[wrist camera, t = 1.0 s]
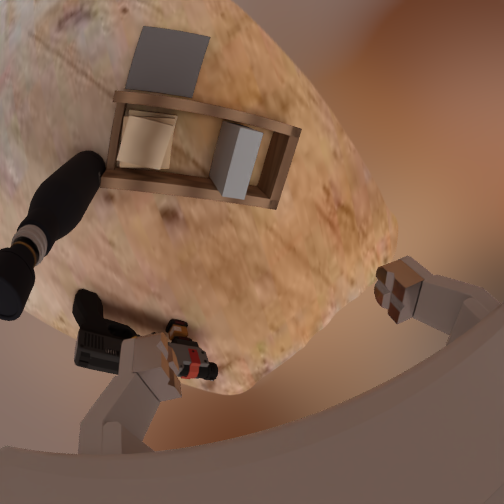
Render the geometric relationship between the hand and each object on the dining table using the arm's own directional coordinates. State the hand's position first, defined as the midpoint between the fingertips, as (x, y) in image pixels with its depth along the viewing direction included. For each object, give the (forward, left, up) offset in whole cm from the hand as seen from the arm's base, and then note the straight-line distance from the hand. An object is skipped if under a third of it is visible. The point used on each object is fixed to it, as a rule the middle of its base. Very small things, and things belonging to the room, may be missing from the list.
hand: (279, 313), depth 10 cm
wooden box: (+2, 0, -36) cm, 36 cm away
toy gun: (-3, -34, -37) cm, 50 cm away
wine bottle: (-15, -6, -37) cm, 40 cm away
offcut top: (-6, 0, -32) cm, 32 cm away
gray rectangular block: (+6, 0, -36) cm, 37 cm away
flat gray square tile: (-6, +12, -36) cm, 39 cm away
